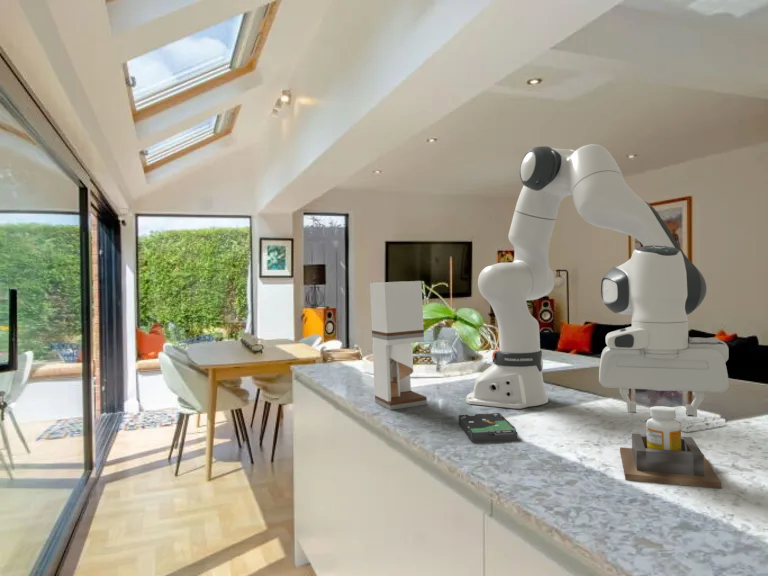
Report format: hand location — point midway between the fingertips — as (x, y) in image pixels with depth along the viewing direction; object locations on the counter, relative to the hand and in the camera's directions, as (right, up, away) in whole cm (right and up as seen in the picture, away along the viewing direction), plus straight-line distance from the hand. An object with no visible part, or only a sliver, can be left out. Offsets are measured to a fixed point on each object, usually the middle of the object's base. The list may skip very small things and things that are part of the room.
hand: (660, 414), depth 91 cm
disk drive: (-26, -11, +26) cm, 39 cm away
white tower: (-45, -11, +56) cm, 73 cm away
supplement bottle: (+1, -9, 0) cm, 9 cm away
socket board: (+1, -10, 0) cm, 10 cm away
